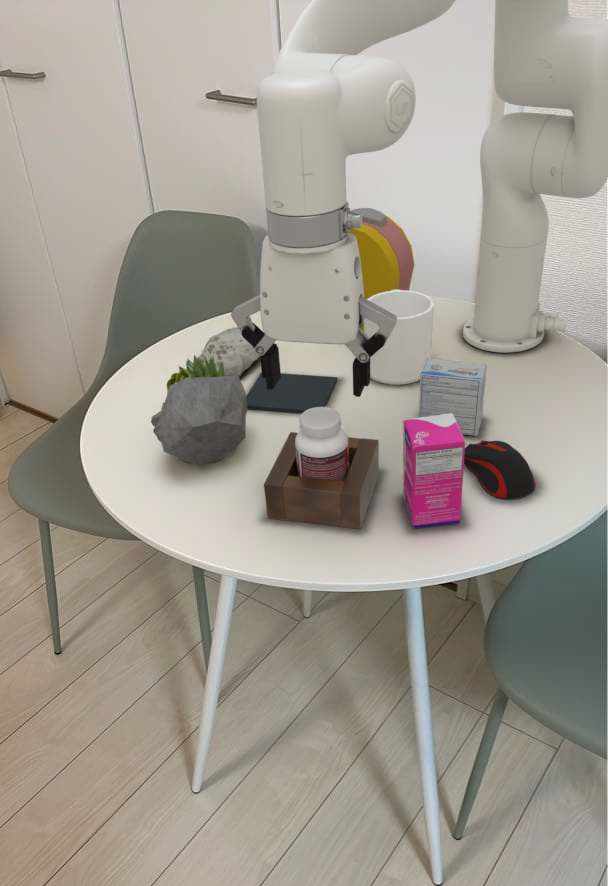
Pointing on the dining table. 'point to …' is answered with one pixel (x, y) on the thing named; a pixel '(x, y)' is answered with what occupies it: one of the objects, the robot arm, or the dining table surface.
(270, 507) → the holder
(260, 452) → the dining table surface
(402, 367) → the mug
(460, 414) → the medicine box
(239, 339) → the decorative stone
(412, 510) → the supplement box
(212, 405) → the potted plant
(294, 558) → the dining table surface
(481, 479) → the computer mouse
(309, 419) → the pill bottle
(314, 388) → the mat
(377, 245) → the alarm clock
